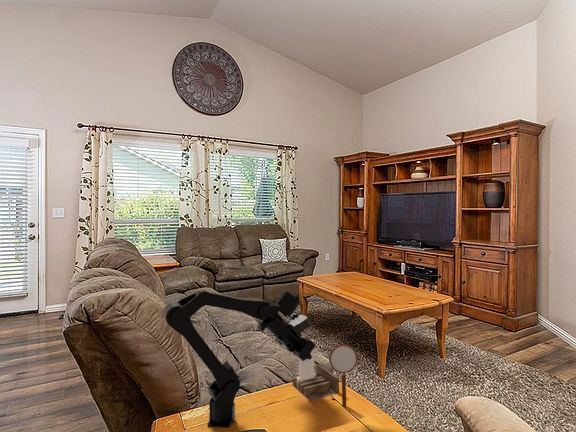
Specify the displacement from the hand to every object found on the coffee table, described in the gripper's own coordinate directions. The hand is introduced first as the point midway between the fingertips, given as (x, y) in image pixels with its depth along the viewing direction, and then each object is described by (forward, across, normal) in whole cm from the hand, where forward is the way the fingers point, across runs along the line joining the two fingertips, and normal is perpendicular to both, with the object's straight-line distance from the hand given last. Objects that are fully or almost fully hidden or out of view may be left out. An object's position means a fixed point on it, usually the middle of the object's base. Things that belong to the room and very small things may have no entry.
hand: (309, 357), depth 113 cm
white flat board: (+4, 0, +6) cm, 7 cm away
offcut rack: (+11, +1, +7) cm, 13 cm away
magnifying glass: (+13, -12, +6) cm, 19 cm away
